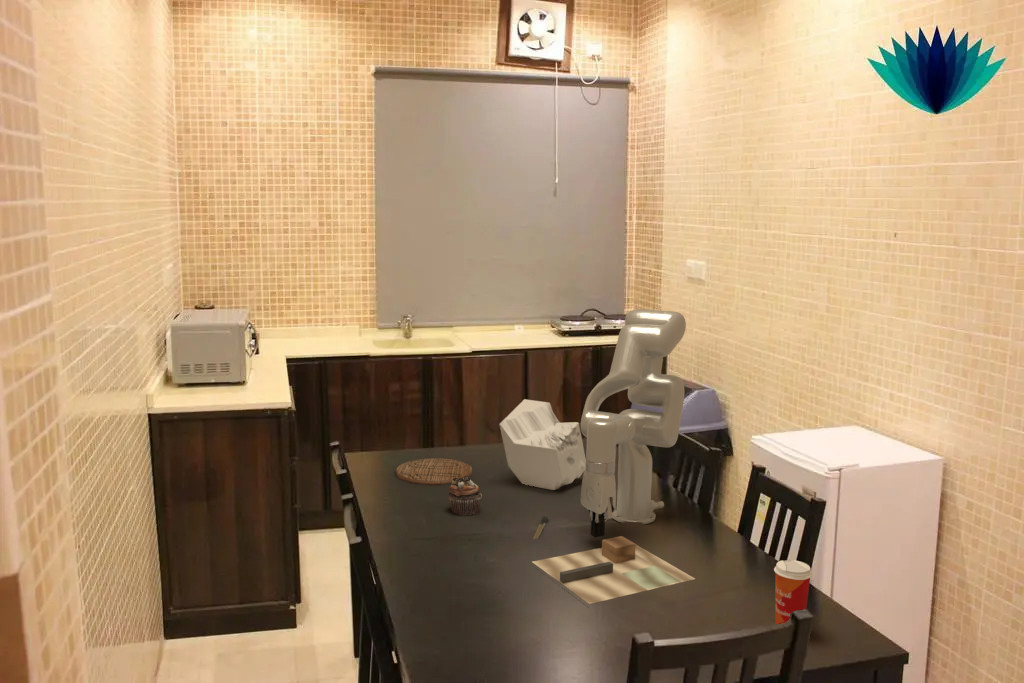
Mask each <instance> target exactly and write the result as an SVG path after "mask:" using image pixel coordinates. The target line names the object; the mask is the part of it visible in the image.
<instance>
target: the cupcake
mask: <svg viewBox="0 0 1024 683" xmlns="http://www.w3.org/2000/svg"><path fill="white" fill-rule="evenodd" d="M482 496H483V494H482V493H481V492H480V487H479V485H477V484H476V483H474V481H473V480H472V479H471V478H468V476H465V477H463V478H460V479H457V478H454V479H453V481H452V484H450V485H449V487H448V500H449V503H450V508H451V512H452V513H453V512H454V513H456V514H455V515H457V514H461V515H460V516H464V515H467V516H473V515H472V514H474V515H476V514H478V513H479V512H480V509H481V501H482ZM478 511H479V512H478ZM454 513H453V514H454ZM475 513H476V514H475Z"/></svg>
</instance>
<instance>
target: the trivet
mask: <svg viewBox="0 0 1024 683" xmlns="http://www.w3.org/2000/svg"><path fill="white" fill-rule="evenodd" d="M471 474H472V475H473V468H472V466H471V465H470V464H468V463H467V462H464V461H460V460H456V459H451V458H450V459H449V458H440V457H439V458H421V459H415V460H410V461H406V462H404V463H402V464H400V465H398V467H397V468H396V477H397V478H398V479H399V480H401V481H403V482H405V483H409V484H412V483H414V484H413V485H418V484H425V485H424V486H443V485H442V484H447V485H449V484H448V483H452V481H453V479H454V478H457V479H460V478H463V477H465V476H468V477H470V476H471V477H472V475H471ZM471 477H470V478H471Z"/></svg>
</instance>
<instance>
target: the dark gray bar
mask: <svg viewBox="0 0 1024 683" xmlns="http://www.w3.org/2000/svg"><path fill="white" fill-rule="evenodd" d="M609 572H613V563H611V562H605V563H601V564H596V565H591V566H586V567H582V568H577V569H572V570H568V571H563V572H560V581H562V582H563V583H564V582H568V581H573V580H577V579H582V578H587V577H591V576H596V575H600V574H605V573H609Z"/></svg>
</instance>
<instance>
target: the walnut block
mask: <svg viewBox="0 0 1024 683" xmlns="http://www.w3.org/2000/svg"><path fill="white" fill-rule="evenodd" d="M636 545H637V544H636V543H634V542H633V541H631V540H630V539H628V538H626V537H624V536H623V535H620V536H614V537H609V538H605V539H602V540H601V548H602V555H603V556H604V557H606V558H607V559H609V560H610V561H612V562H614V563H620V562H625V561H629V560H634V559H635V547H636Z"/></svg>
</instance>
